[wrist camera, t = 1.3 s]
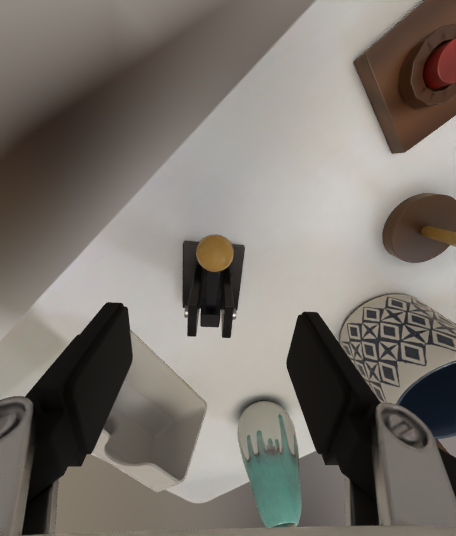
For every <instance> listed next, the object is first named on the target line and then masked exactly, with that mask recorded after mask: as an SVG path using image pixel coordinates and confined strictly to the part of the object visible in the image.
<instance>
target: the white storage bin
mask: <svg viewBox="0 0 456 536" xmlns="http://www.w3.org/2000/svg"><path fill="white" fill-rule="evenodd" d="M130 334H131V343H132V352H133V360H132V364H131V366H130V369H129V371H128V373H127V375H126V378H125V380H124V382H123V385H122V387H121V389H120V391H119V394H118V396H117V398H116V400H115V403H114V405H113V407H112V410H111V412H110V414H109V416H108V419H107V421H106V423H105V425H104V428H103V430H102V432H101V435H100V437H99V439H98V441H97V444H96V446H95V448H94V450H93V452H92V453H94V454H95V455H97V456H98V457H100V458H102V459H103V460H105V461H106V462H108V463H110V464H111V465H113V466H115V467H116V468H118V469H119V470H121V471H123V472H124V473H126V474H127V475H129V476H131V477H132V478H134V479H136V480H137V481H139V482H141V483H142V484H144V485H145V486H147V487H149V488H150V489H152V490H153V491H155V492H160V491H162V490H164V489H167V488H169V487H172V486H174V485H177V484H179V483H181V482H182V481H183V480H184V479H185V477H186V475H187V471H188V468H189V465H190V462H191V458H192V455H193V452H194V449H195V445H196V442H197V439H198V436H199V433H200V429H201V426H202V423H203V420H204V416H205V413H206V403H205V401H204V400H203V399H202V398H201V397H200V396H199V395H198V394H197V393H196V392H195V391H194V390H193V389H192V388H191V387H190V386H189V385H187V384H186V383H185V382H184V381H183V380H182V379H181V378H180V377H179V376H178V375H177V374H176V373H175V372H174V371H173V370H172V369H171V368H170V367H169V366H168V365H167V364H166V363H164V362H163V361H162V360H161V359H160V358H159V357H158V356H157V355H156V354H155V353H154V352H153V351H152V350H151V349H150V348H149V347H148V346H147V345H146V344H145V343H144V342H143V341H142V340H140V339H139V338H138V337H137V336H136V335H135V334H134V333H133V332H132V331H130Z"/></svg>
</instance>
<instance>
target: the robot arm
mask: <svg viewBox="0 0 456 536" xmlns="http://www.w3.org/2000/svg"><path fill="white" fill-rule="evenodd" d="M132 360H133V352H132V343H131V334H130V325H129V316H128V308H127V307H124V306H123V304H122V303H111V302H108V303H106V304H105V305H104V306H103V307H102V309H101V310H100V311H99V312H98V313H97V315H96V316H95V317H94V318H93V319H92V321H91V322H90V323H89V324H88V325H87V327H86V328H85V329H84V330H83V331H82V333H81V334H79V335H77V336H76V337H75V338H74V339H73V341H72V342H71V343H70V344H69V345H68V346H67V348H66V349H65V350H64V351H63V352H62V354H61V355H60V356H59V357H58V358H57V359H56V361H55V362H54V363H53V364H52V365H51V367H50V368H49V369H48V370H47V371H46V373H45V374H44V375H43V376H42V377H41V378H40V380H39V381H38V382H37V383H36V384H35V386H34V387H33V388H32V389H31V390H30V391H29V393H28V394H27V395H26V396H25V397H23V396H14V397H9V398H5V399H2V400H0V536H456V458H455V457H453V456H452V455H450V454H448V453H447V452H445V451H444V450H442V449H440V448H439V447H437V444H436V442H435V439H434V437H433V435H432V433H431V431H430V430H429V428H428V427H427V426H426V425H425V423H424V422H423V421H422V420H420V419H419V418H418V417H417V416H416V415H415V414H413V413H412V412H410V411H409V410H408V409H406V408H404V407H402V406H400V405H397V404H393V403H380V401H379V400H378V399H377V397H376V395H375V394H374V392H373V391H372V390H371V388H370V387H369V385H368V384H367V382H366V381H365V380H364V378H363V377H362V375H361V374H360V372H359V371H358V370H357V368H356V367H355V365H354V364H353V362H352V361H351V360H350V358H349V357H348V355H347V354H346V352H345V351H344V350H343V348H342V347H341V345H340V344H339V342H338V341H337V340H336V338H335V337H334V335H333V334H332V332H331V331H330V330H329V328H328V327H327V325H326V324H325V322H324V321H323V320H322V318H321V317H320V315H319V314H318V313H317V312H303V313H302V315H299V316H298V318H297V322H296V326H295V330H294V334H293V338H292V342H291V346H290V349H289V353H288V357H287V369H288V372H289V375H290V378H291V381H292V384H293V386H294V389H295V392H296V395H297V398H298V401H299V404H300V406H301V409H302V412H303V415H304V418H305V421H306V423H307V426H308V429H309V432H310V435H311V438H312V440H313V443H314V446H315V449H316V451H317V452H318V453H319V454H322V457H323V460H324V462H325V465H339V467H340V470H341V472H342V473H343V474H344V490H345V491H344V495H345V496H344V499H345V500H344V501H345V505H344V506H345V526H328V527H279V528H240V529H203V530H202V529H201V530H168V531H167V530H165V531H132V532H102V533H71V534H55V524H56V509H57V495H58V480H59V478H60V477H61V476H63V475H64V473H65V471H66V469H67V467H68V466H82V463H83V461H84V459H85V457H86V454H91V453H92V452H93V450H94V448H95V446H96V444H97V441H98V439H99V437H100V435H101V432H102V430H103V428H104V425H105V423H106V421H107V419H108V416H109V414H110V412H111V410H112V407H113V405H114V403H115V400H116V398H117V396H118V394H119V391H120V389H121V387H122V385H123V382H124V380H125V378H126V375H127V373H128V371H129V369H130V366H131V364H132Z"/></svg>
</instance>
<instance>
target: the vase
mask: <svg viewBox="0 0 456 536" xmlns="http://www.w3.org/2000/svg"><path fill="white" fill-rule="evenodd" d="M238 442H239V447H240V452H241V456H242V460H243V463H244V466H245V469H246V472H247V475H248V478H249V481H250V484H251V488H252V491H253V495H254V499H255V502H256V506H257V509H258V512H259V514H260V517H261V519H262V521H263V523H264V525H265V527H266V528H279V527H296V526H297V525H298V523H299V519H300V514H301V486H300V476H299V455H298V444H297V438H296V432H295V428H294V425H293V422H292V420H291V418H290V416H289V415H288V413H287V412H286V411H285V410H284V409H283V408H282V407H281V406H279V405H278V404H276V403H273V402H270V401H260V402H256V403H253V404H252V405H250V406H248V407H247V408H246V409H245V410H244V412H243V414H242V415H241V418H240V420H239V424H238Z"/></svg>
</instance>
